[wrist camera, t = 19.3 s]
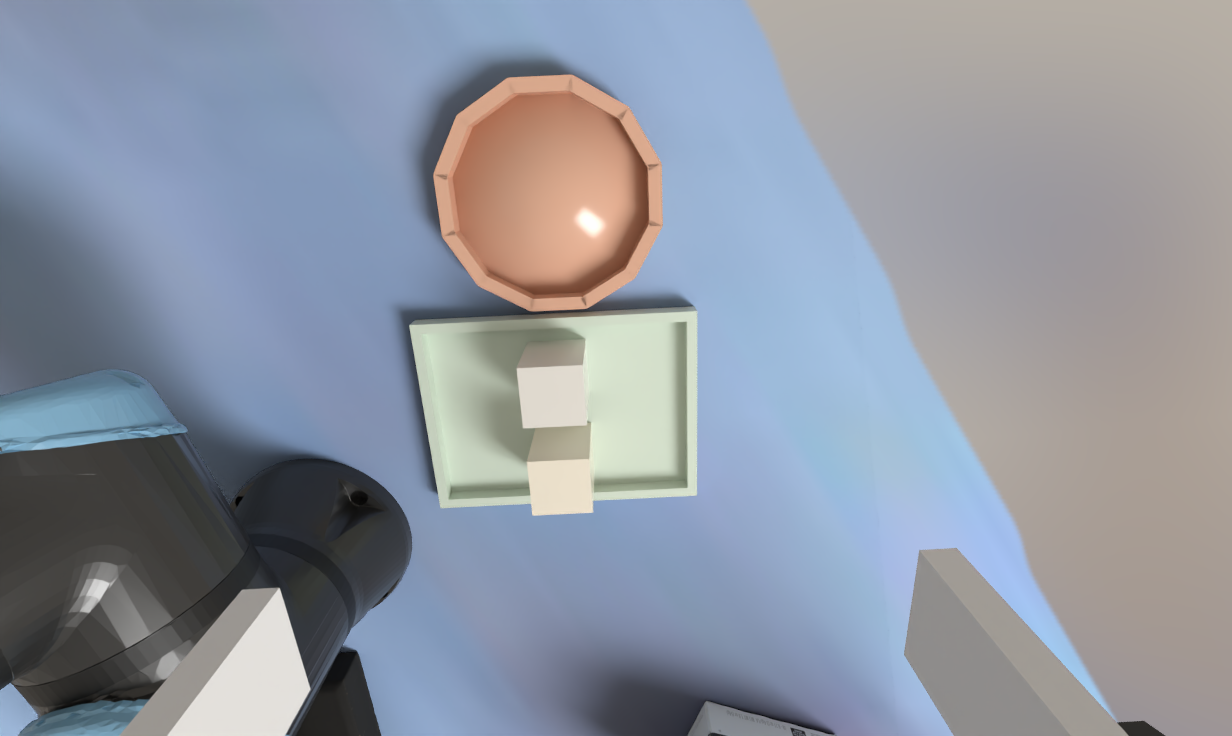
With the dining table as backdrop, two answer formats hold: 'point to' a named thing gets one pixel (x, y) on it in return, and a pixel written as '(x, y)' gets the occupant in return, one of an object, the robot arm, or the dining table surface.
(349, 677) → the coral
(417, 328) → the parts tray
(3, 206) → the dining table surface
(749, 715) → the tea box
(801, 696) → the dining table surface
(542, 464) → the cream rectangular block
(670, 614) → the dining table surface
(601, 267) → the bowl
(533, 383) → the pale grey block
